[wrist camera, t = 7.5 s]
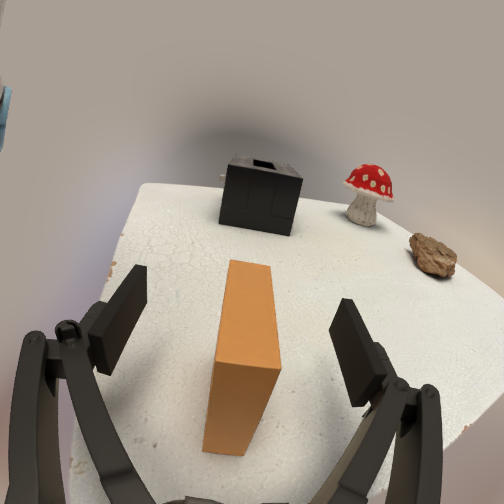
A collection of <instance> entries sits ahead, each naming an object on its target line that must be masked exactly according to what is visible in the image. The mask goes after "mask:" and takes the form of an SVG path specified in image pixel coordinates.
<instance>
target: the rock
mask: <svg viewBox="0 0 504 504" xmlns="http://www.w3.org/2000/svg"><path fill="white" fill-rule="evenodd" d="M409 242H410V247H411V248H412V251H413V253H414V258H415V259H416V260H417V263H418V266H419V267H420V268H421V270H422V271H423V272H427V273H430V274H437V275H438V276H440V277H446V276H447V277H450V276H451V275H453V274H454V273H455V269H454V268H455V263H456V261H457V256H456V254H455V253H454V252H453V251H452V250H451V249H449V248H447V247H446V246H445V245H444V244H443V243H441V242H437V241H436V240H435V239H433V238H431V237H429V238H428V237H425V236H424V235H422V234H421V233H415V234H414V235H413V236H412V237H410V239H409Z"/></svg>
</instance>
